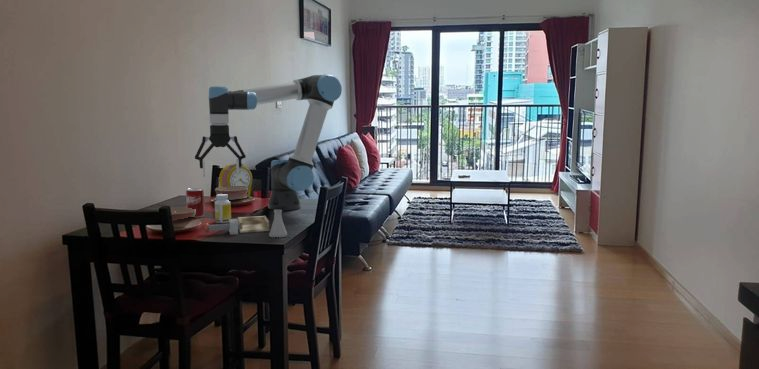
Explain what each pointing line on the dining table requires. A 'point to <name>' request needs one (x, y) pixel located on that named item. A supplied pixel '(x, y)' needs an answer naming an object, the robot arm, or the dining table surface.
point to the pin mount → (233, 226)
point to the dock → (253, 224)
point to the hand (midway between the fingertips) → (221, 175)
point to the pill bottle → (222, 208)
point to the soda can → (196, 201)
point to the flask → (278, 226)
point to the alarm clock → (236, 177)
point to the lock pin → (217, 227)
